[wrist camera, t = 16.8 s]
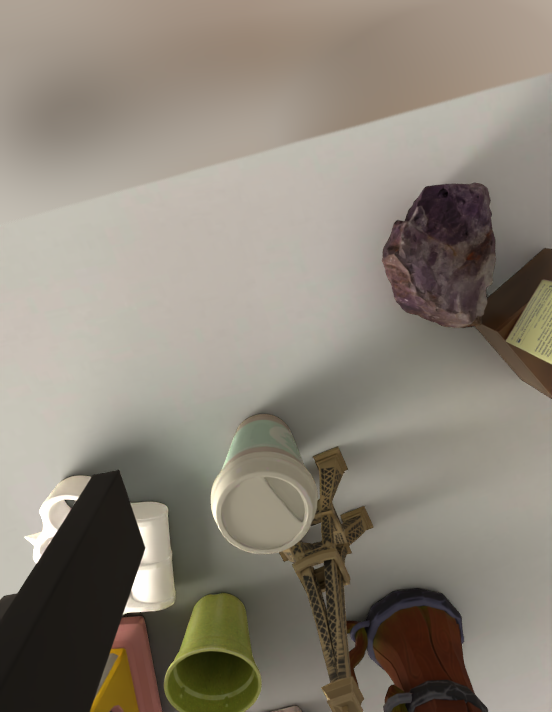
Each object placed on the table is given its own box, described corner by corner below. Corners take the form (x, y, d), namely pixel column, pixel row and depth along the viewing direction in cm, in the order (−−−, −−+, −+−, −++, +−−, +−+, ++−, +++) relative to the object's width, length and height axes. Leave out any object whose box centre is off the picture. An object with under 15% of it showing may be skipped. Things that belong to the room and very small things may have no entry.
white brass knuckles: (179, 610, 52) (49, 615, 52) (167, 472, 47) (22, 475, 46) (174, 636, 49) (36, 641, 48) (160, 491, 44) (4, 495, 43)
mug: (302, 657, 55) (317, 814, 41) (312, 580, 52) (332, 721, 37) (448, 661, 56) (513, 815, 42) (467, 586, 53) (545, 725, 38)
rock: (469, 192, 41) (358, 208, 41) (524, 166, 32) (385, 186, 32) (479, 322, 43) (373, 337, 42) (534, 329, 34) (402, 349, 34)
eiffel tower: (337, 446, 47) (421, 689, 23) (372, 525, 50) (478, 813, 26) (243, 484, 48) (228, 756, 24) (283, 559, 51) (306, 868, 27)
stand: (544, 247, 41) (590, 253, 36) (597, 316, 44) (648, 332, 38) (466, 316, 43) (497, 332, 37) (520, 379, 45) (558, 403, 39)
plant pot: (209, 565, 50) (199, 634, 42) (277, 604, 52) (280, 677, 44) (162, 619, 52) (144, 695, 44) (229, 655, 54) (224, 734, 46)
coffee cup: (307, 473, 47) (322, 556, 36) (224, 479, 47) (213, 564, 36) (303, 397, 45) (318, 460, 33) (216, 403, 45) (202, 468, 33)
